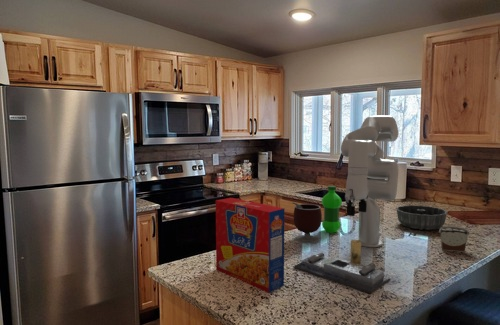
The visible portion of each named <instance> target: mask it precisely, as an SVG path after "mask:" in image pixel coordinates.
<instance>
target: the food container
mask: <svg viewBox="0 0 500 325" xmlns="http://www.w3.org/2000/svg"><path fill="white" fill-rule="evenodd" d="M438 233H440V244H441V245H440V246H441V251H450V252H452V251H453V252H462V253H463V252H464V253H465V252H466V247H467V241H468V236H470V232H469V229H466V228H463V227H458V226H454V225H452V226H449V225H448V226H447V225H446V226H444V225H443V226H442V227H441V228H439V231H438Z"/></svg>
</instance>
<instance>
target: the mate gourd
mask: <svg viewBox="0 0 500 325" xmlns="http://www.w3.org/2000/svg"><path fill="white" fill-rule="evenodd" d="M292 204H293V205H294V209H293V223H294V226H295V228H296V229H297V230H298V231H299V232H302V233H304V234H302V235H297V236H296V237H294V241H296V242H297V243H300V244H304V245H305V244H306V245H314V244H317V243H319V242H320V241H321V240H320V238H319V237H318V236H315V235H311V234H312V233H315V232H318V230H319V229H320V228H321V226H322V221H323V220H322V219H323V218H322V215H323V214H322V207H321V206H320V205H318V204H312V203H299V204H298V203H297V202H294V201H292Z"/></svg>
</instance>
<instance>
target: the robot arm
mask: <svg viewBox="0 0 500 325" xmlns="http://www.w3.org/2000/svg"><path fill="white" fill-rule="evenodd" d="M398 137H399V127H398V124H397V120H396V118H394V117H393V116H391V115H371V116H367V117H366V118H365V119H364V120H363V122H362V124H361V126H360V128H357V129H355V130H352V131H351V132H348V133H347V134H346V135H345V137H344V138H343V140H342V142H341V146H340V153H341V155H342V156H343V157H344V158H348V159H347V160H348V161H347V162H348V164H347V166H348V167H347V178H346V182H345V183H346V184H345V195H344V199H345V203H346V204H345V205H346V216H349V217H354V216H355V212H356V206H355V203H356V202H357V201H358V237H357V238H356V239H354V240H359V241H361V247H366V248H379V247H381V246H383V241H382V240H380V237H382V232H380V221H381V220H380V218H381V208H380V206H379V204H378V203H377V200H378V201H379V200H380V201H389V202H390V201H393V200H394V201H395V199H397V198H396V197H397V192H398V183H399V182H398V181H399V165H398V163H397V161H395V160H393V159H384V155H385V153H384V150H383V149H382V147H381V145H379V144H378V142H390V143H391V142H396V141H397V139H398Z"/></svg>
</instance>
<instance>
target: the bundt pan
mask: <svg viewBox="0 0 500 325" xmlns="http://www.w3.org/2000/svg"><path fill="white" fill-rule="evenodd" d="M395 210H396V213H397V214H396V215H397V220H398V222H399V223H400V224H401V225H402V226H404V227H406V228H408V229H413V230H417V229H418V230H420V231H422V230H425V231H430V230H431V231H435V230H438V229H439V230H440V228H441V227H443V226H444V225H445V224H446V223H445V222H446V217H447V214H448V211H447V210H445V209H443V208H440V207H436V206H435V207H434V206H427V205H414V204H413V205H411V204H409V205H399V206H397V207H396V208H395Z"/></svg>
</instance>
